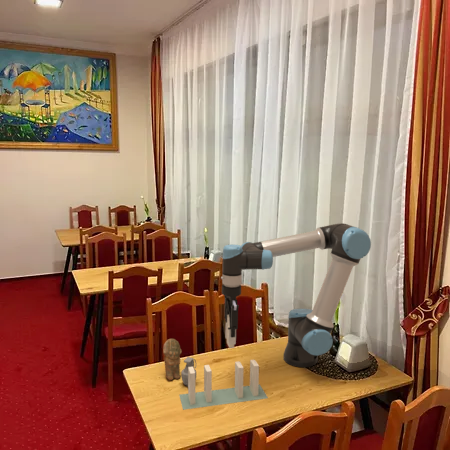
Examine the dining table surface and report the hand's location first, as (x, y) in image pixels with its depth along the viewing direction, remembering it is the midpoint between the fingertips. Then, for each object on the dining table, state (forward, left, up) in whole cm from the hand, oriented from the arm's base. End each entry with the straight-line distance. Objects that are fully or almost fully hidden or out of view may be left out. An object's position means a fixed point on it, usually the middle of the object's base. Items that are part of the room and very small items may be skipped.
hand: (230, 340), depth 168 cm
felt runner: (+6, +11, -17) cm, 21 cm away
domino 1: (+18, +11, -17) cm, 27 cm away
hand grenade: (+17, -1, -17) cm, 24 cm away
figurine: (+22, -9, -17) cm, 29 cm away
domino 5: (-6, +11, -17) cm, 21 cm away
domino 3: (0, 0, -2) cm, 2 cm away
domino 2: (+12, +11, -17) cm, 23 cm away
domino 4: (0, +11, -17) cm, 20 cm away
